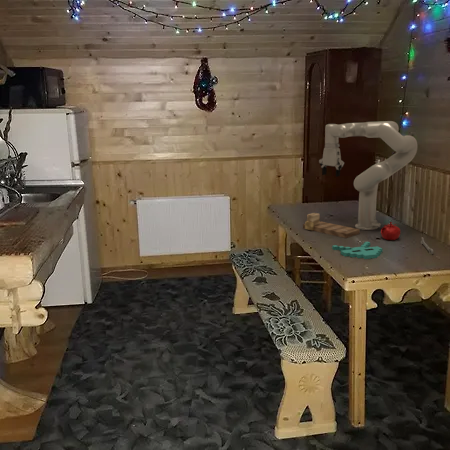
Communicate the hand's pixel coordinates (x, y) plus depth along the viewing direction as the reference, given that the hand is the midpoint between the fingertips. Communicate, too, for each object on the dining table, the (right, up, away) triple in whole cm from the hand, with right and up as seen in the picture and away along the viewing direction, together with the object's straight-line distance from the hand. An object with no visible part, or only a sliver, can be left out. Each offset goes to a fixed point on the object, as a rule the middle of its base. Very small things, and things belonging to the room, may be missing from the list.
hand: (330, 175), depth 305 cm
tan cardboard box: (-12, -31, -7) cm, 34 cm away
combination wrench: (+37, -41, -48) cm, 73 cm away
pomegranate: (+25, -36, -29) cm, 53 cm away
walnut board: (-3, -32, -11) cm, 34 cm away
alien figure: (+4, -43, -51) cm, 66 cm away
